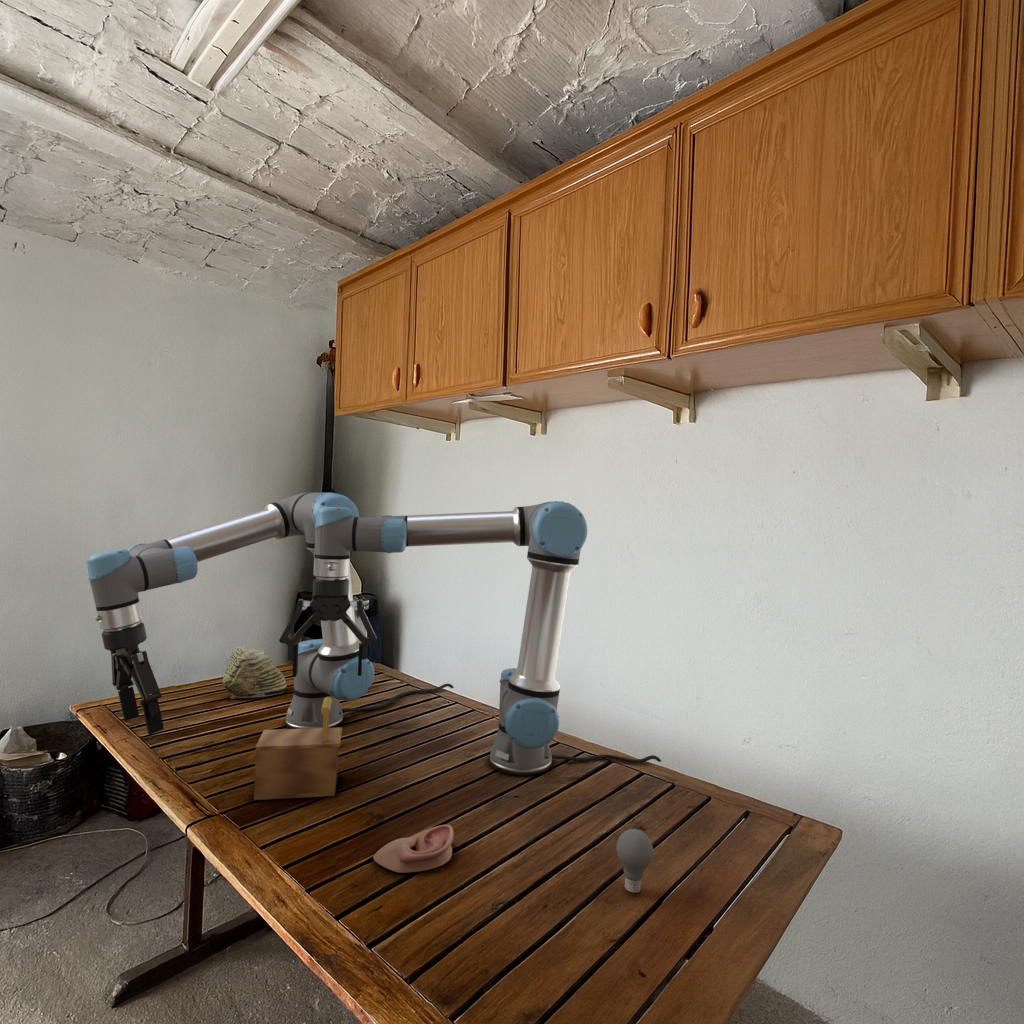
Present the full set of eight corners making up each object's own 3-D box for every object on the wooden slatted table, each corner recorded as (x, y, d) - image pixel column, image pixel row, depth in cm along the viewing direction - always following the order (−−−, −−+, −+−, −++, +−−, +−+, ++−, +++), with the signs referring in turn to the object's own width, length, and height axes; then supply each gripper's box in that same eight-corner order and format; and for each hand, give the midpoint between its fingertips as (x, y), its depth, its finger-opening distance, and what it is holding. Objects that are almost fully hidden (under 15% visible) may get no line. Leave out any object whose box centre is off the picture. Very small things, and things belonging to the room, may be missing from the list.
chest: (337, 776, 144) (339, 731, 144) (334, 795, 134) (336, 747, 134) (261, 779, 140) (263, 733, 140) (253, 800, 131) (255, 750, 131)
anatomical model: (366, 844, 109) (392, 812, 120) (365, 867, 109) (391, 833, 120) (440, 856, 106) (459, 823, 117) (439, 880, 106) (458, 844, 117)
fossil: (218, 695, 195) (220, 647, 195) (278, 685, 208) (279, 640, 207) (228, 703, 189) (230, 653, 188) (289, 692, 201) (290, 645, 201)
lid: (342, 730, 144) (343, 694, 144) (339, 747, 134) (341, 708, 134) (263, 733, 140) (264, 696, 140) (255, 750, 131) (257, 710, 131)
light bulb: (610, 879, 108) (613, 822, 108) (644, 879, 109) (647, 822, 109) (619, 902, 102) (622, 840, 102) (655, 901, 103) (658, 840, 103)
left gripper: (82, 625, 134) (103, 720, 136) (123, 639, 117) (146, 746, 120) (121, 615, 139) (140, 706, 142) (166, 626, 123) (187, 729, 126)
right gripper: (267, 579, 131) (264, 680, 132) (390, 580, 137) (386, 678, 137) (273, 574, 139) (269, 670, 139) (389, 576, 144) (385, 669, 144)
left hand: (143, 724), depth 131 cm, fingers open, 13 cm apart
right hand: (327, 674), depth 138 cm, fingers open, 13 cm apart
